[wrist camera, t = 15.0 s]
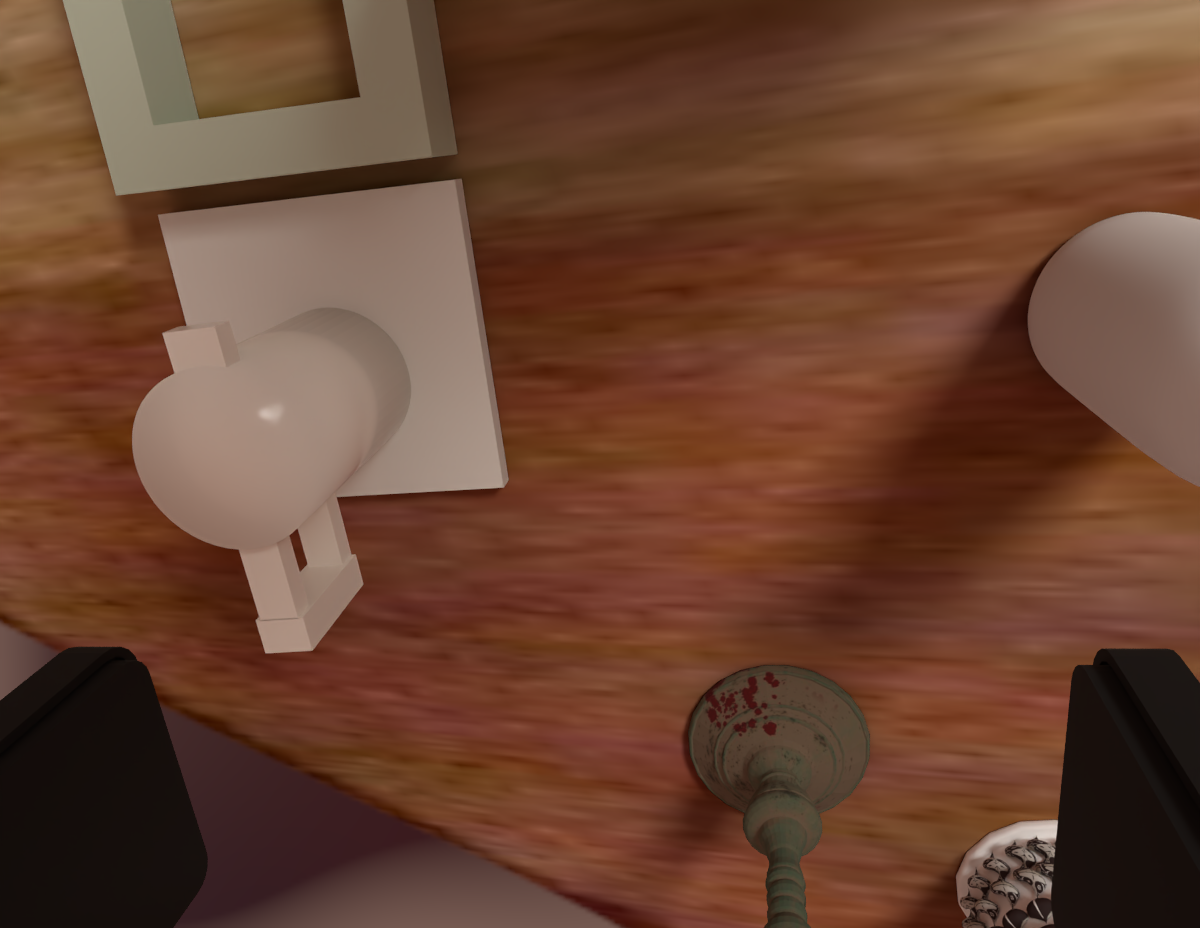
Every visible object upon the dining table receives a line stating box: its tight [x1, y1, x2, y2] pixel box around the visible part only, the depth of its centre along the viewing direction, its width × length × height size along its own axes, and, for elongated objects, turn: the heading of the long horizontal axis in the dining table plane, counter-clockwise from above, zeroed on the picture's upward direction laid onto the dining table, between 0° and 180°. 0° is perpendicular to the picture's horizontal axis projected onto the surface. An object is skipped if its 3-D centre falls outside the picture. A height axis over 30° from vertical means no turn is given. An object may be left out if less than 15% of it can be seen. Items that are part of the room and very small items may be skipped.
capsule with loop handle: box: [132, 308, 411, 653], centre depth 39 cm, size 13×7×10 cm, turn 8°
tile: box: [158, 179, 509, 497], centre depth 43 cm, size 14×14×1 cm
